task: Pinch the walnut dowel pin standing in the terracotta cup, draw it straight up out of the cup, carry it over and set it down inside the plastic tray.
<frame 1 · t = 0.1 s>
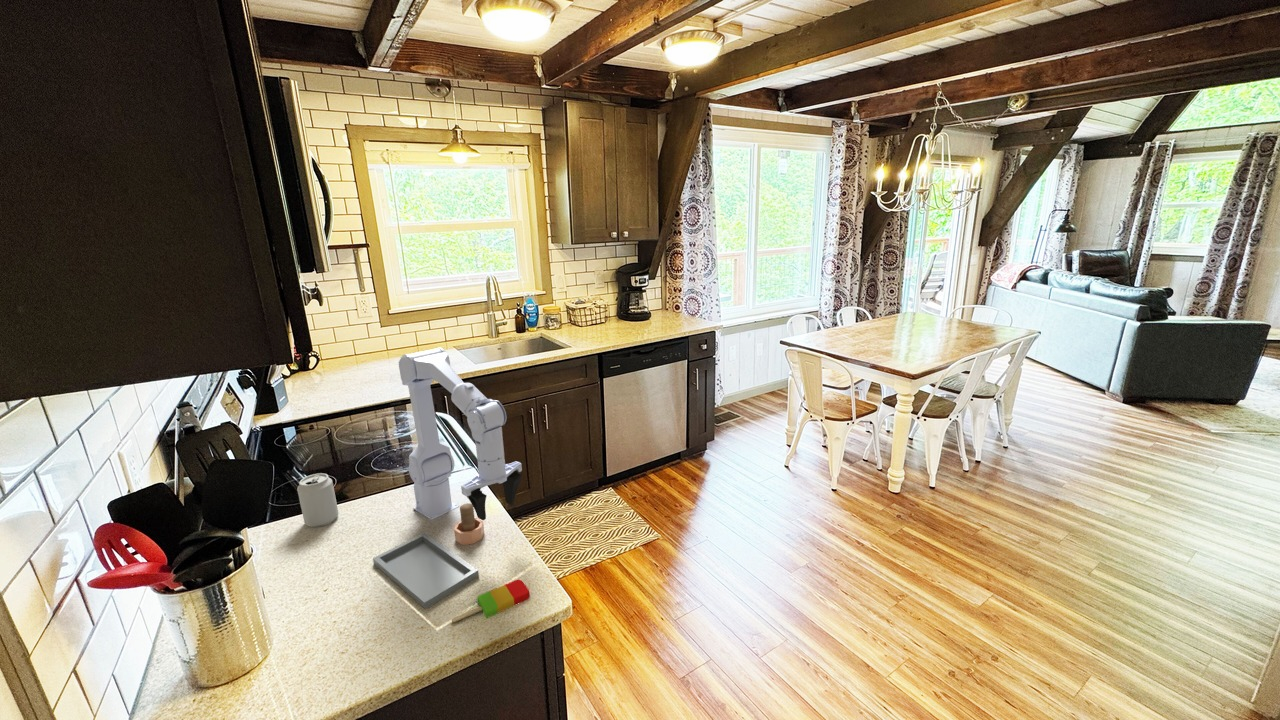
hand: (496, 510, 114), 10 cm above the worktop, tool pointing down, fingers open, 7 cm apart
cup: (470, 538, 121), on the worktop
tray: (425, 571, 109), on the worktop
popsicle: (491, 608, 100), on the worktop
pin: (469, 536, 121), resting on cup
can: (322, 521, 129), on the worktop
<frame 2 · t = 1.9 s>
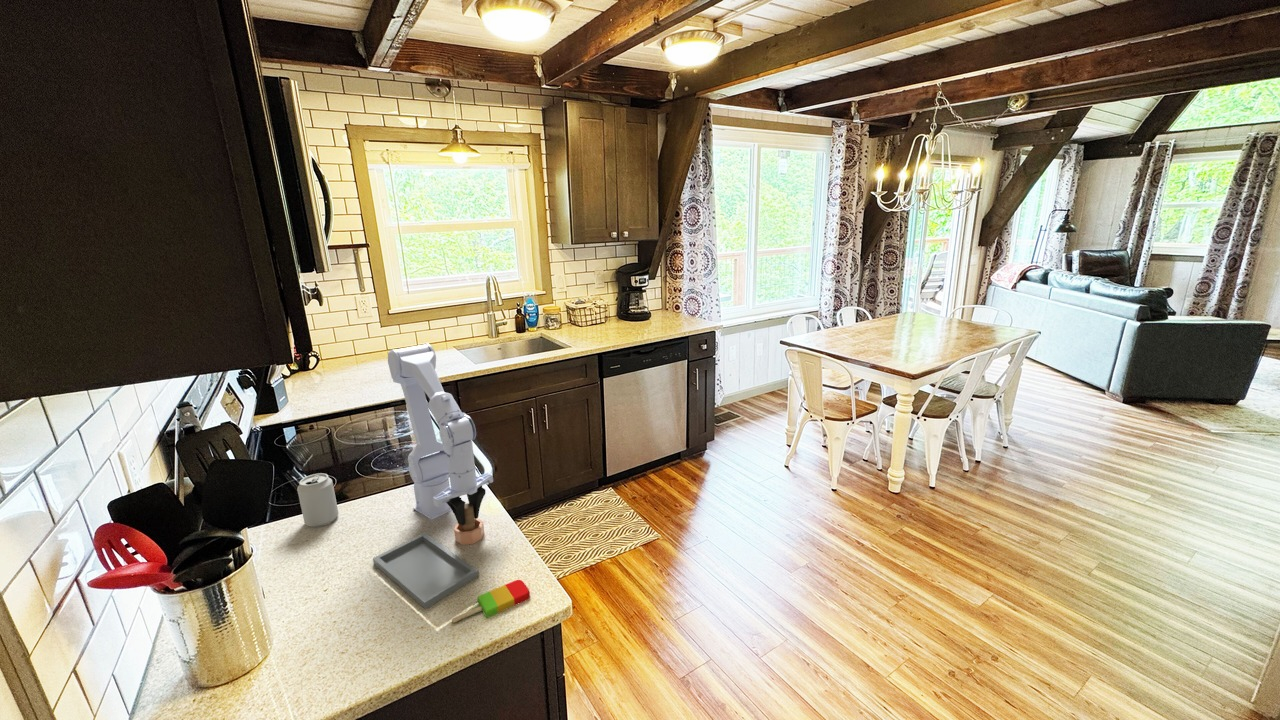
hand: (468, 520, 120), 5 cm above the worktop, tool pointing down, fingers closed on pin, 3 cm apart
pin: (469, 536, 121), resting on cup, touching gripper
everything else where it was.
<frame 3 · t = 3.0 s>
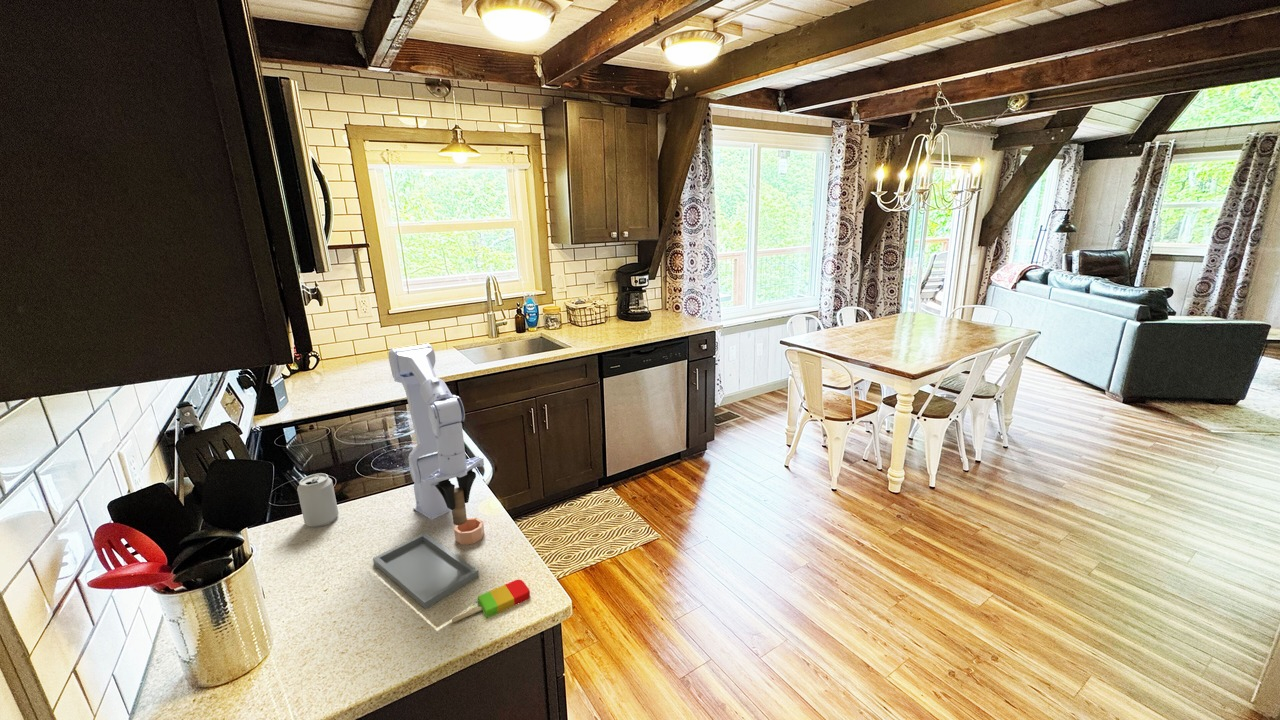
hand: (457, 504, 116), 10 cm above the worktop, tool pointing down, fingers closed on pin, 3 cm apart
pin: (460, 521, 117), point 6 cm above the worktop, touching gripper
everything else where it was.
when the fingers open (6 cm above the worktop, at t = 4.8 s): pin stays where it is, resting on tray.
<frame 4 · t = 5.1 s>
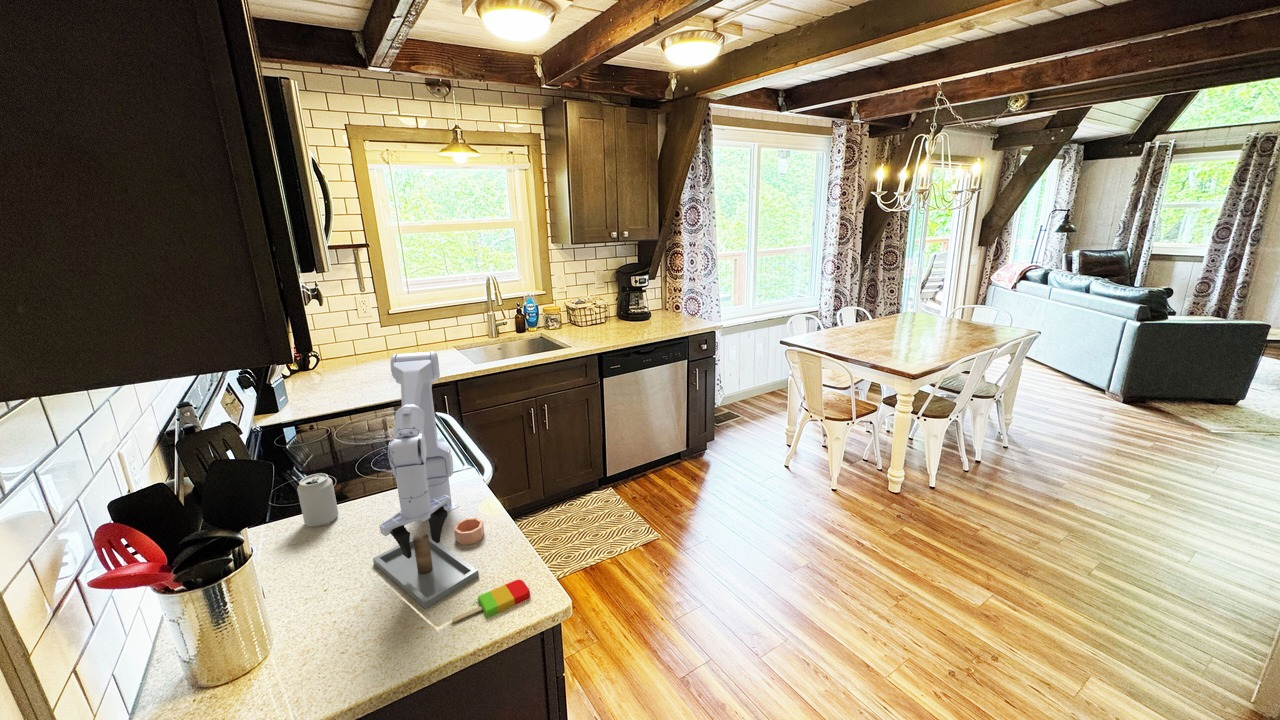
hand: (422, 548, 108), 6 cm above the worktop, tool pointing down, fingers open, 6 cm apart
pin: (425, 569, 109), point 1 cm above the worktop, touching tray
everything else where it was.
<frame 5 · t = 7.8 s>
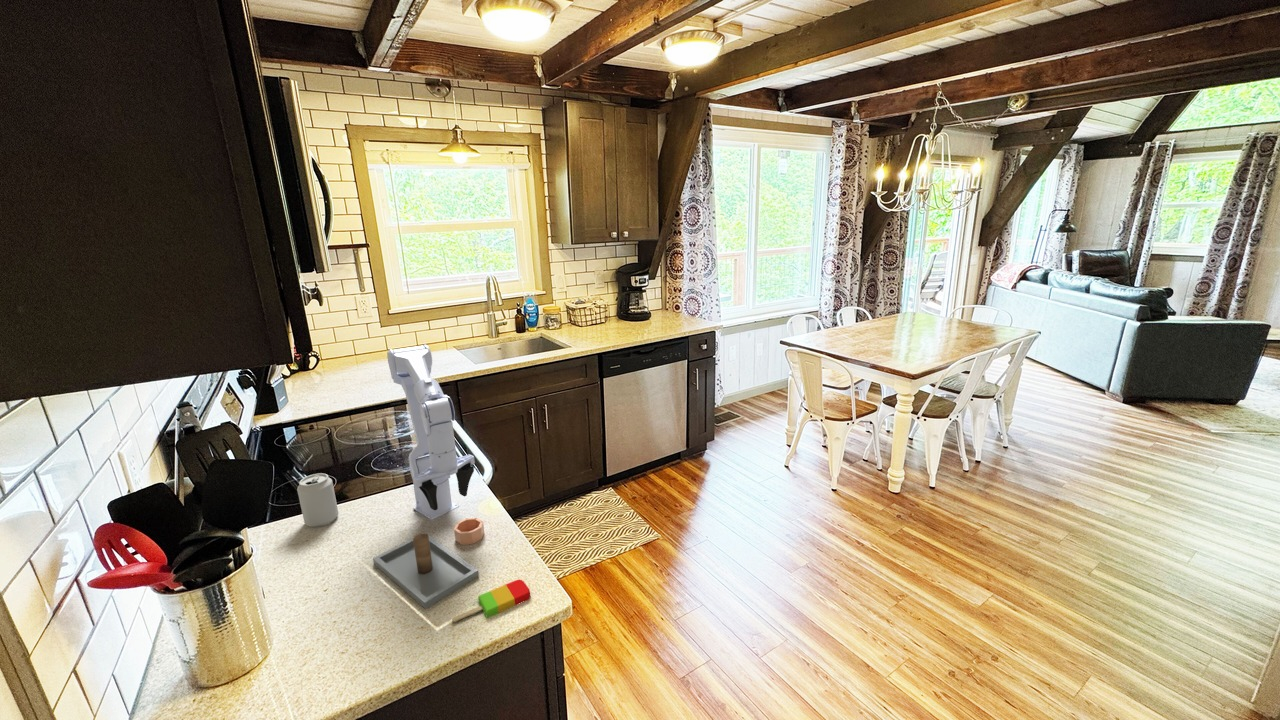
hand: (449, 501, 119), 9 cm above the worktop, tool pointing down, fingers open, 7 cm apart
nothing on the worktop moved.
at the end: pin inside the target area on the tray (0.1 cm from its centre), point 0.6 cm above the tray's base; the gripper is holding nothing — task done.
